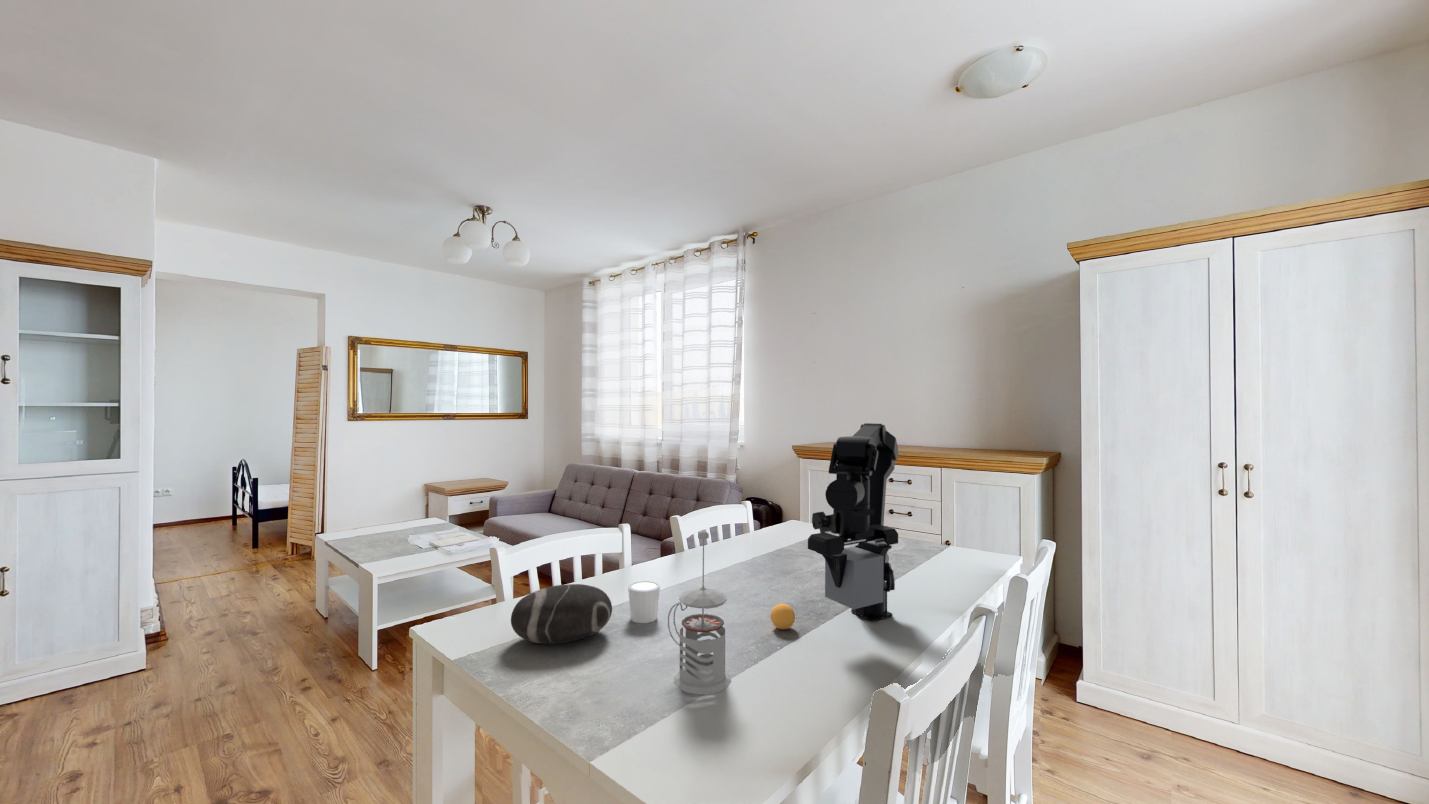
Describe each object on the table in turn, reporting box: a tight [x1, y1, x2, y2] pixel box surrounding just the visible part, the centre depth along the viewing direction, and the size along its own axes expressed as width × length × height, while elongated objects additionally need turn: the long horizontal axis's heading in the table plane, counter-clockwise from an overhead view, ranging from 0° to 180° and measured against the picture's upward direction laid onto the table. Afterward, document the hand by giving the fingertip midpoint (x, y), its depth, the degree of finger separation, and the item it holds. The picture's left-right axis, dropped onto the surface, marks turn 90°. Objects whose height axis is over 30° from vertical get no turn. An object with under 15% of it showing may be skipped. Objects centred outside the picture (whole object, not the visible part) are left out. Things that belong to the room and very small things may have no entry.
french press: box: [667, 530, 732, 695], centre depth 95 cm, size 10×12×25 cm
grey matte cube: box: [824, 546, 884, 610], centre depth 108 cm, size 8×8×9 cm
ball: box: [770, 603, 796, 630], centre depth 116 cm, size 5×5×5 cm
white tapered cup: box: [627, 580, 661, 624], centre depth 121 cm, size 7×7×7 cm
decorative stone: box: [510, 583, 613, 644], centre depth 111 cm, size 19×14×10 cm
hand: (853, 583), depth 108 cm, fingers closed on grey matte cube, 8 cm apart
